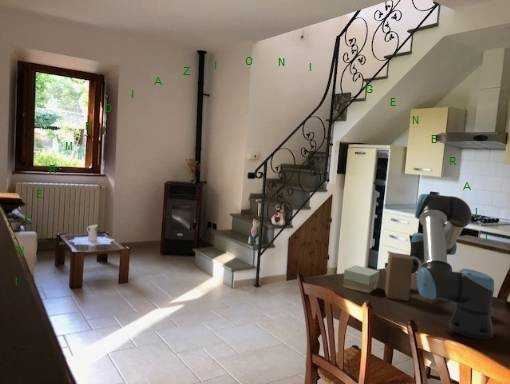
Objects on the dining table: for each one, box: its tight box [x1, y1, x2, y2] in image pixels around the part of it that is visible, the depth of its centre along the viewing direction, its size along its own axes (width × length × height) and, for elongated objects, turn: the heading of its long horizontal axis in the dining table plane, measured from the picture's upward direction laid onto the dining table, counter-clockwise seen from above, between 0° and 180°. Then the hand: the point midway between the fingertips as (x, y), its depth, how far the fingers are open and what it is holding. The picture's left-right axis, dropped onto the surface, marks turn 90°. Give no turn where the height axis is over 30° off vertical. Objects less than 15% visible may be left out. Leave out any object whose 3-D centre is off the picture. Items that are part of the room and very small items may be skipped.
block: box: [384, 252, 413, 302], centre depth 195 cm, size 10×10×20 cm
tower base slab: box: [342, 278, 379, 294], centre depth 207 cm, size 13×13×4 cm
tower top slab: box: [343, 265, 380, 285], centre depth 206 cm, size 13×13×4 cm
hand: (400, 272), depth 199 cm, fingers open, 13 cm apart
